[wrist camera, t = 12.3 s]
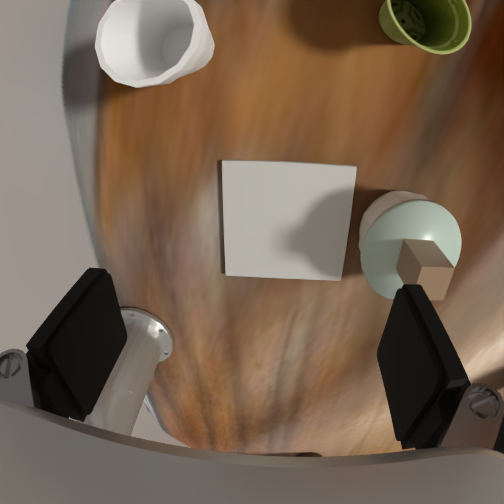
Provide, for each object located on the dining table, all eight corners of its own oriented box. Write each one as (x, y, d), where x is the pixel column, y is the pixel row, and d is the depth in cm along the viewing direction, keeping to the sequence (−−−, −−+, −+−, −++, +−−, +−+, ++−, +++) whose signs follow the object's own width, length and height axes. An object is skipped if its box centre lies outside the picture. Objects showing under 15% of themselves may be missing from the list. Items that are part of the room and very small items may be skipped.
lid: (441, 296, 38) (460, 330, 32) (351, 294, 39) (361, 333, 32) (468, 204, 31) (499, 230, 25) (369, 193, 32) (389, 219, 26)
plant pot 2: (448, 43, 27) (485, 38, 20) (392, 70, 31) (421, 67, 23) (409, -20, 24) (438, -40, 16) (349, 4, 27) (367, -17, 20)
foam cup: (173, 99, 35) (124, 108, 23) (137, 41, 31) (79, 30, 20) (242, 59, 32) (223, 45, 21) (204, -1, 28) (169, -36, 17)
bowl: (423, 266, 42) (438, 289, 37) (352, 263, 43) (361, 288, 38) (440, 194, 37) (460, 211, 32) (364, 186, 38) (377, 203, 33)
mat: (340, 278, 45) (340, 280, 44) (226, 273, 46) (225, 275, 45) (355, 165, 37) (356, 167, 36) (222, 159, 38) (221, 160, 37)
